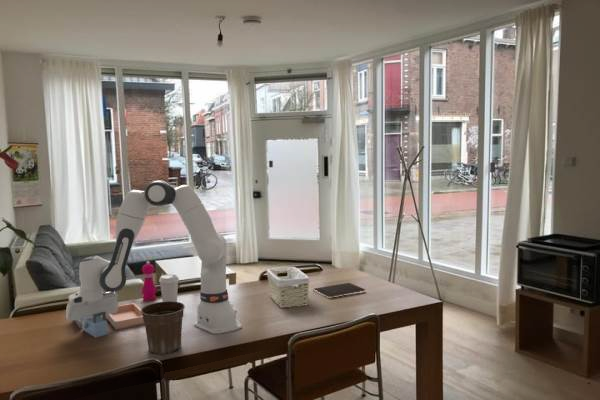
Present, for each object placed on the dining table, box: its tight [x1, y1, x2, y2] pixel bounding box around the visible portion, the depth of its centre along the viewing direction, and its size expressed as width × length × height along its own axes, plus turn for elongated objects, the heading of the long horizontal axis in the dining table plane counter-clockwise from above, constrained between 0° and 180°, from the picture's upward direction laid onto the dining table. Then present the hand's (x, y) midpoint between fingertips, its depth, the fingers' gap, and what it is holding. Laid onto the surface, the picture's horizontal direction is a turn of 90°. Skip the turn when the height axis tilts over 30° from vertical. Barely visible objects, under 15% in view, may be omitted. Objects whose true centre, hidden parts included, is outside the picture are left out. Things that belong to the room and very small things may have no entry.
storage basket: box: [266, 266, 311, 309], centre depth 244 cm, size 24×16×15 cm
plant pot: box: [140, 301, 186, 355], centre depth 186 cm, size 16×16×16 cm
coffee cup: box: [158, 273, 180, 302], centre depth 237 cm, size 10×10×15 cm
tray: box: [106, 302, 145, 330], centre depth 219 cm, size 22×14×4 cm, turn 34°
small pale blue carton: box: [82, 311, 108, 339], centre depth 203 cm, size 12×5×10 cm, turn 46°
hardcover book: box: [313, 282, 366, 297], centre depth 260 cm, size 16×23×2 cm
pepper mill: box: [141, 260, 157, 302], centre depth 248 cm, size 7×7×20 cm
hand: (93, 326), depth 205 cm, fingers closed on small pale blue carton, 5 cm apart
